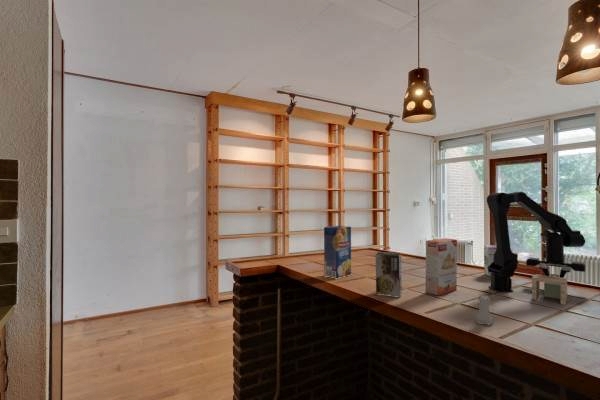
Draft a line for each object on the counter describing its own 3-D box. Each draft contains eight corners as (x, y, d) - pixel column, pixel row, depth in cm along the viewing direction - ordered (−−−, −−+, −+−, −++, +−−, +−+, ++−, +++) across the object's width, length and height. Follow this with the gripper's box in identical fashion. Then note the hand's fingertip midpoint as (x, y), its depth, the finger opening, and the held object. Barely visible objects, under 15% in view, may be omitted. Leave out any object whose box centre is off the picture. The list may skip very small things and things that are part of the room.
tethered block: (561, 298, 118) (561, 282, 118) (544, 296, 121) (544, 280, 121) (562, 289, 130) (562, 275, 130) (547, 287, 133) (547, 273, 133)
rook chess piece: (472, 320, 97) (472, 294, 97) (486, 319, 98) (486, 293, 98) (482, 326, 93) (481, 298, 93) (496, 325, 93) (496, 298, 93)
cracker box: (439, 296, 122) (438, 241, 122) (424, 293, 127) (424, 240, 127) (458, 290, 130) (457, 239, 130) (443, 287, 135) (443, 237, 135)
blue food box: (336, 279, 149) (336, 228, 149) (324, 277, 154) (323, 227, 154) (351, 275, 157) (351, 226, 158) (338, 273, 163) (338, 225, 163)
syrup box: (501, 277, 152) (501, 246, 152) (488, 276, 153) (487, 246, 153) (496, 274, 157) (496, 245, 158) (483, 274, 159) (483, 244, 159)
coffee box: (402, 293, 126) (401, 252, 126) (399, 298, 120) (399, 255, 120) (378, 291, 129) (378, 251, 130) (375, 295, 124) (375, 253, 124)
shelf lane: (565, 304, 112) (564, 281, 112) (532, 299, 118) (532, 277, 118) (567, 298, 118) (566, 277, 118) (535, 293, 125) (535, 273, 125)
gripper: (586, 247, 131) (586, 285, 131) (530, 243, 144) (530, 278, 143) (584, 250, 123) (585, 291, 122) (525, 245, 135) (526, 282, 135)
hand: (555, 285), depth 131 cm, fingers closed on tethered block, 3 cm apart
